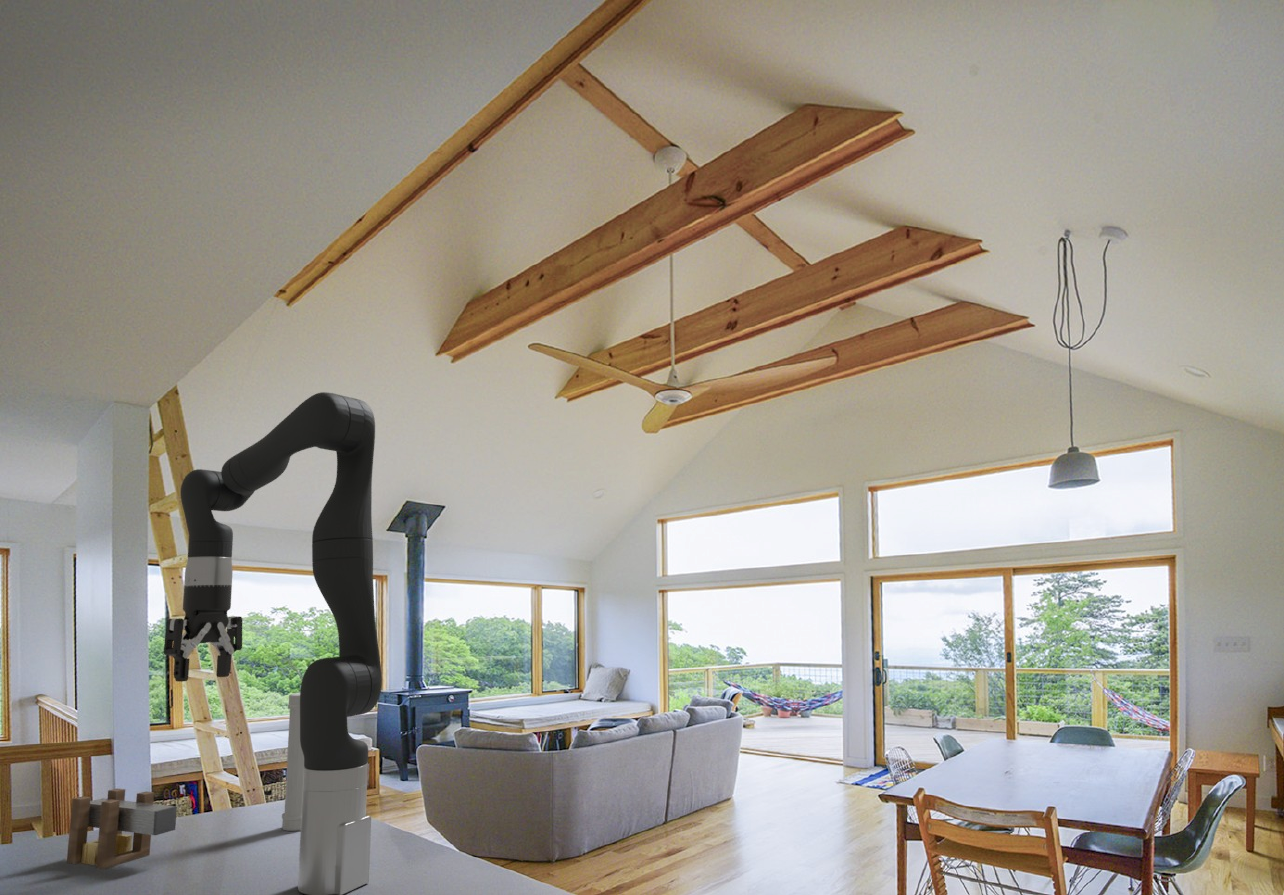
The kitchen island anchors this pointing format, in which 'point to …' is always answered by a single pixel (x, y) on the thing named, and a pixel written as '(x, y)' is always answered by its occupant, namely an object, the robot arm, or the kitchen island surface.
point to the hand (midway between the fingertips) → (202, 679)
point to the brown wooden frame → (105, 830)
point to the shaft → (138, 817)
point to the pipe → (294, 768)
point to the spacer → (91, 848)
